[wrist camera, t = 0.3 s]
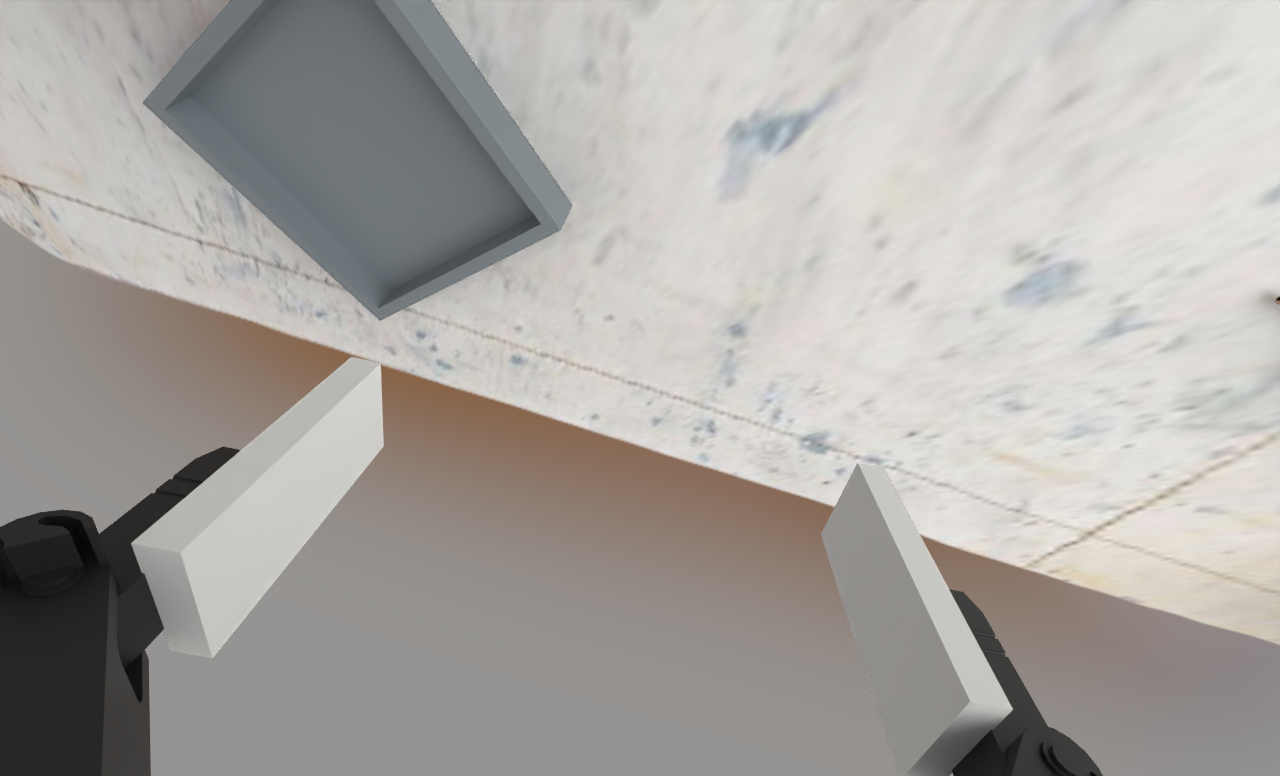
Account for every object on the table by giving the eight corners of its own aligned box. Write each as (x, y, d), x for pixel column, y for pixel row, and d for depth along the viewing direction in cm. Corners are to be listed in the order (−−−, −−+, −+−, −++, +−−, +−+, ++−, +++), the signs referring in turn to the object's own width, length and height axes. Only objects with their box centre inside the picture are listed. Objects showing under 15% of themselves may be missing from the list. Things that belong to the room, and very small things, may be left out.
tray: (355, -109, 29) (319, -102, 27) (572, 205, 40) (560, 230, 38) (180, 84, 38) (142, 102, 36) (398, 296, 50) (380, 320, 47)
